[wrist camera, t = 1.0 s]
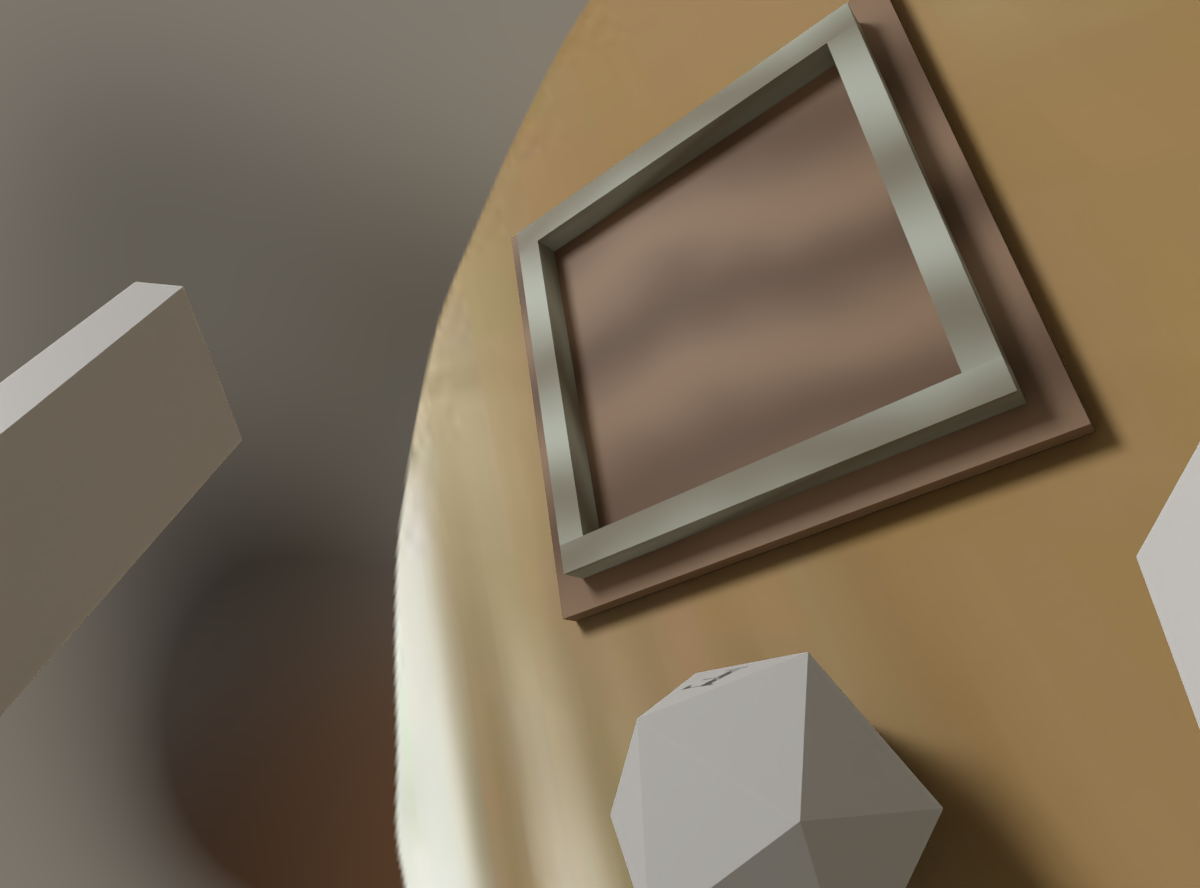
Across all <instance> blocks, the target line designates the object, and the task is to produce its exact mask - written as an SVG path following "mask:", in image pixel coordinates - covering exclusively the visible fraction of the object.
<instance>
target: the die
mask: <svg viewBox="0 0 1200 888" xmlns="http://www.w3.org/2000/svg"><path fill="white" fill-rule="evenodd" d="M942 810H943V807H942V806H941V805H940V804H939V803H938V801H937V800H936V799H935V798H934V797H933V796H932V795H931V793H930V792H929V791H928V790H927V789H926V788H925V786H924V785H923V784H922V783H921V782H920V781H919V779H918V778H917V777H916V776H915V775H914V774H913V773H912V771H911V770H910V769H909V768H908V767H907V766H906V764H905V763H904V762H903V761H902V760H901V759H900V758H899V756H898V755H897V754H896V753H895V752H894V751H893V749H892V748H891V747H890V746H889V745H888V744H887V743H886V741H885V740H884V739H883V738H882V737H881V736H880V734H879V733H878V732H877V731H876V730H875V729H874V727H873V726H872V725H871V724H870V723H869V722H868V721H867V719H866V718H865V717H864V716H863V715H862V714H861V712H860V711H859V710H858V709H857V708H856V707H855V706H854V704H853V703H852V702H851V701H850V700H849V699H848V697H847V696H846V695H845V694H844V693H843V692H842V690H841V689H840V688H839V687H838V686H837V685H836V684H835V682H834V681H833V680H832V679H831V678H830V677H829V675H828V674H827V673H826V672H825V671H824V670H823V669H822V667H821V666H820V665H819V664H818V663H817V662H816V660H815V659H814V658H813V657H812V656H811V655H810V654H809V652H804V653H799V654H793V655H788V656H783V657H778V658H772V659H767V660H762V661H757V662H752V663H746V664H741V665H736V666H731V667H725V668H720V669H715V670H710V671H704V672H699V673H696V674H694V675H693V676H692V677H690V678H689V679H688V680H687V681H685V682H684V683H683V684H681V685H680V686H679V687H678V688H676V689H675V690H674V691H672V692H671V693H670V694H669V695H667V696H666V697H665V698H663V699H662V700H661V701H660V702H658V703H657V704H656V705H654V706H653V707H652V708H651V709H649V710H648V711H647V712H645V713H644V714H643V715H641V716H640V717H639V718H638V719H637V722H636V726H635V729H634V733H633V736H632V740H631V743H630V747H629V751H628V754H627V758H626V761H625V765H624V768H623V772H622V775H621V779H620V783H619V786H618V790H617V793H616V797H615V800H614V804H613V807H612V811H611V814H610V815H611V819H612V822H613V825H614V828H615V831H616V834H617V837H618V840H619V843H620V846H621V849H622V852H623V855H624V858H625V861H626V864H627V867H628V871H629V874H630V877H631V880H632V883H633V886H634V888H906V886H907V884H908V882H909V880H910V878H911V876H912V874H913V871H914V869H915V867H916V865H917V863H918V861H919V859H920V857H921V855H922V852H923V850H924V848H925V846H926V844H927V842H928V840H929V838H930V836H931V833H932V831H933V829H934V827H935V825H936V823H937V821H938V819H939V816H940V814H941V812H942Z"/></svg>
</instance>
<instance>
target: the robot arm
mask: <svg viewBox="0 0 1200 888" xmlns="http://www.w3.org/2000/svg"><path fill="white" fill-rule="evenodd" d="M241 440H242V438H241V435H240V433H239V430H238V428H237V425H236V422H235V420H234V417H233V414H232V412H231V409H230V407H229V404H228V401H227V399H226V396H225V394H224V391H223V389H222V386H221V383H220V381H219V378H218V376H217V373H216V370H215V368H214V365H213V362H212V360H211V357H210V355H209V352H208V349H207V347H206V344H205V342H204V339H203V337H202V334H201V331H200V329H199V326H198V324H197V321H196V318H195V316H194V313H193V311H192V308H191V305H190V303H189V300H188V298H187V295H186V293H185V290H184V287H183V286H174V285H163V284H152V283H142V282H135V283H133V284H132V285H131V286H129V287H128V288H127V289H125V290H124V291H123V292H121V293H120V294H118V295H117V296H116V297H114V298H113V299H112V300H110V301H109V302H108V303H107V304H105V305H104V306H102V307H101V308H100V309H98V310H97V311H96V312H95V313H93V314H92V315H90V316H89V317H88V318H87V319H85V320H84V321H82V322H81V323H80V324H78V325H77V326H76V327H74V328H73V329H72V330H70V331H69V332H68V333H66V334H65V335H64V336H62V337H61V338H60V339H58V340H57V341H56V342H54V343H53V344H52V345H50V346H49V347H48V348H46V349H45V350H44V351H42V352H41V353H40V354H38V355H37V356H36V357H34V358H33V359H32V360H30V361H29V362H28V363H26V364H25V365H23V366H22V367H21V368H19V369H18V370H17V371H15V372H14V373H13V374H11V375H10V376H9V377H7V378H6V379H5V380H3V381H2V382H1V383H0V716H1V715H2V714H3V713H4V711H5V710H6V709H7V708H8V707H9V706H10V704H11V703H12V702H13V701H14V700H15V699H16V697H18V695H19V694H20V693H21V692H22V691H23V690H24V689H25V687H26V686H27V685H28V684H29V683H30V682H31V680H32V679H33V678H34V677H35V676H36V675H37V674H38V672H39V671H40V670H41V669H42V668H43V667H44V666H45V664H46V663H47V662H48V661H49V660H50V659H51V658H52V656H53V655H54V654H55V653H56V652H57V651H58V650H59V648H60V647H61V646H62V645H63V644H64V643H65V642H66V641H67V639H68V638H69V637H70V636H71V635H72V634H73V632H74V631H75V630H76V629H77V628H78V627H79V626H80V625H81V623H82V622H83V621H84V620H85V619H86V618H87V617H88V615H89V614H90V613H91V612H92V611H93V609H95V607H96V606H97V605H98V604H99V603H100V602H101V600H102V599H103V598H104V597H105V596H106V595H107V594H108V592H109V591H110V590H111V589H112V588H113V587H114V586H115V585H116V583H117V582H118V581H119V580H120V579H121V578H122V576H123V575H124V574H125V573H126V572H127V571H128V570H129V568H130V567H131V566H132V565H133V564H134V563H135V561H137V559H138V558H139V557H140V556H141V555H142V554H143V553H144V551H145V550H146V549H147V548H148V547H149V546H150V544H151V543H152V542H153V541H154V540H155V539H156V538H157V536H158V535H159V534H160V533H161V532H162V531H163V530H164V528H165V527H166V526H167V525H168V524H169V523H170V522H171V520H172V519H173V518H174V517H175V516H176V515H177V514H178V512H179V511H180V510H181V509H182V508H183V507H184V506H185V504H186V503H187V502H188V501H189V500H190V499H191V498H192V496H193V495H194V494H195V493H196V492H197V491H198V489H199V488H200V487H201V486H202V485H203V484H204V483H205V482H206V480H207V479H208V478H209V477H210V476H211V474H213V472H214V471H215V470H216V469H217V468H218V467H219V465H220V464H221V463H222V462H223V461H224V460H225V459H226V457H227V456H228V455H229V454H230V453H231V452H232V451H233V450H234V448H235V447H236V446H237V445H238V444H239V443H240V441H241ZM1136 557H1137V560H1138V563H1139V565H1140V568H1141V571H1142V573H1143V576H1144V579H1145V582H1146V584H1147V587H1148V590H1149V592H1150V595H1151V598H1152V601H1153V603H1154V606H1155V609H1156V612H1157V614H1158V617H1159V620H1160V622H1161V625H1162V628H1163V631H1164V633H1165V636H1166V639H1167V641H1168V644H1169V647H1170V650H1171V652H1172V655H1173V658H1174V660H1175V663H1176V666H1177V669H1178V671H1179V674H1180V677H1181V680H1182V682H1183V685H1184V688H1185V690H1186V693H1187V696H1188V699H1189V701H1190V704H1191V707H1192V709H1193V712H1194V715H1195V718H1196V720H1197V723H1198V726H1199V729H1200V443H1199V445H1198V447H1197V448H1196V450H1195V452H1194V454H1193V456H1192V457H1191V459H1190V461H1189V463H1188V465H1187V466H1186V468H1185V470H1184V472H1183V474H1182V475H1181V477H1180V479H1179V481H1178V483H1177V484H1176V486H1175V488H1174V490H1173V491H1172V493H1171V495H1170V497H1169V499H1168V500H1167V502H1166V504H1165V506H1164V508H1163V509H1162V511H1161V513H1160V515H1159V517H1158V518H1157V520H1156V522H1155V524H1154V526H1153V527H1152V529H1151V531H1150V533H1149V535H1148V536H1147V538H1146V540H1145V542H1144V544H1143V545H1142V547H1141V549H1140V551H1139V553H1138V554H1137V556H1136Z"/></svg>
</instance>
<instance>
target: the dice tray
mask: <svg viewBox="0 0 1200 888" xmlns="http://www.w3.org/2000/svg"><path fill="white" fill-rule="evenodd" d="M512 246H513V253H514V261H515V268H516V275H517V283H518V290H519V298H520V305H521V313H522V320H523V327H524V335H525V342H526V350H527V357H528V364H529V372H530V379H531V387H532V394H533V401H534V409H535V416H536V424H537V431H538V438H539V446H540V453H541V461H542V468H543V475H544V483H545V490H546V498H547V505H548V512H549V520H550V527H551V535H552V542H553V550H554V557H555V564H556V572H557V579H558V587H559V594H560V601H561V609H562V616H563V619H566V620H571V621H577V620H580V619H583V618H586V617H588V616H591V615H594V614H597V613H599V612H602V611H605V610H607V609H610V608H613V607H616V606H618V605H621V604H624V603H627V602H629V601H632V600H635V599H638V598H640V597H643V596H646V595H649V594H651V593H654V592H657V591H660V590H662V589H665V588H668V587H671V586H673V585H676V584H679V583H682V582H684V581H687V580H690V579H692V578H695V577H698V576H701V575H703V574H706V573H709V572H712V571H714V570H717V569H720V568H723V567H725V566H728V565H731V564H734V563H736V562H739V561H742V560H745V559H747V558H750V557H753V556H756V555H758V554H761V553H764V552H766V551H769V550H772V549H775V548H777V547H780V546H783V545H786V544H788V543H791V542H794V541H797V540H799V539H802V538H805V537H808V536H810V535H813V534H816V533H819V532H821V531H824V530H827V529H830V528H832V527H835V526H838V525H841V524H843V523H846V522H849V521H851V520H854V519H857V518H860V517H862V516H865V515H868V514H871V513H873V512H876V511H879V510H882V509H884V508H887V507H890V506H893V505H895V504H898V503H901V502H904V501H906V500H909V499H912V498H915V497H917V496H920V495H923V494H925V493H928V492H931V491H934V490H936V489H939V488H942V487H945V486H947V485H950V484H953V483H956V482H958V481H961V480H964V479H967V478H969V477H972V476H975V475H978V474H980V473H983V472H986V471H989V470H991V469H994V468H997V467H1000V466H1002V465H1005V464H1008V463H1010V462H1013V461H1016V460H1019V459H1021V458H1024V457H1027V456H1030V455H1032V454H1035V453H1038V452H1041V451H1043V450H1046V449H1049V448H1052V447H1054V446H1057V445H1060V444H1063V443H1065V442H1068V441H1071V440H1074V439H1076V438H1079V437H1082V436H1084V435H1087V434H1090V433H1093V432H1095V429H1094V427H1093V425H1092V423H1091V421H1090V419H1089V417H1088V415H1087V412H1086V410H1085V408H1084V406H1083V404H1082V402H1081V400H1080V398H1079V396H1078V394H1077V391H1076V389H1075V387H1074V385H1073V383H1072V381H1071V379H1070V377H1069V375H1068V373H1067V370H1066V368H1065V366H1064V364H1063V362H1062V360H1061V358H1060V356H1059V354H1058V351H1057V349H1056V347H1055V345H1054V343H1053V341H1052V339H1051V337H1050V335H1049V333H1048V330H1047V328H1046V326H1045V324H1044V322H1043V320H1042V318H1041V316H1040V314H1039V312H1038V309H1037V307H1036V305H1035V303H1034V301H1033V299H1032V297H1031V295H1030V293H1029V290H1028V288H1027V286H1026V284H1025V282H1024V280H1023V278H1022V276H1021V274H1020V272H1019V269H1018V267H1017V265H1016V263H1015V261H1014V259H1013V257H1012V255H1011V253H1010V250H1009V248H1008V246H1007V244H1006V242H1005V240H1004V238H1003V236H1002V234H1001V232H1000V229H999V227H998V225H997V223H996V221H995V219H994V217H993V215H992V213H991V211H990V208H989V206H988V204H987V202H986V200H985V198H984V196H983V194H982V192H981V189H980V187H979V185H978V183H977V181H976V179H975V177H974V175H973V173H972V171H971V168H970V166H969V164H968V162H967V160H966V158H965V156H964V154H963V152H962V150H961V147H960V145H959V143H958V141H957V139H956V137H955V135H954V133H953V131H952V128H951V126H950V124H949V122H948V120H947V118H946V116H945V114H944V112H943V110H942V107H941V105H940V103H939V101H938V99H937V97H936V95H935V93H934V91H933V89H932V86H931V84H930V82H929V80H928V78H927V76H926V74H925V72H924V70H923V67H922V65H921V63H920V61H919V59H918V57H917V55H916V53H915V51H914V49H913V46H912V44H911V42H910V40H909V38H908V36H907V34H906V32H905V30H904V28H903V25H902V23H901V21H900V19H899V17H898V15H897V13H896V11H895V9H894V6H893V4H892V2H891V0H850V1H849V2H848V3H845V4H844V5H842V6H841V7H839V8H838V9H837V10H835V11H834V12H832V13H831V14H830V15H828V16H827V17H825V18H824V19H822V20H821V21H820V22H818V23H817V24H815V25H814V26H812V27H811V28H810V29H808V30H807V31H805V32H804V33H802V34H801V35H800V36H798V37H797V38H795V39H794V40H792V41H791V42H790V43H788V44H787V45H785V46H784V47H782V48H781V49H780V50H778V51H777V52H775V53H774V54H772V55H771V56H770V57H768V58H767V59H765V60H764V61H763V62H761V63H760V64H758V65H757V66H755V67H754V68H753V69H751V70H750V71H748V72H747V73H745V74H744V75H743V76H741V77H740V78H738V79H737V80H735V81H734V82H733V83H731V84H730V85H728V86H727V87H725V88H724V89H723V90H721V91H720V92H718V93H717V94H715V95H714V96H713V97H711V98H710V99H708V100H707V101H705V102H704V103H703V104H701V105H700V106H698V107H697V108H696V109H694V110H693V111H691V112H690V113H688V114H687V115H686V116H684V117H683V118H681V119H680V120H678V121H677V122H676V123H674V124H673V125H671V126H670V127H668V128H667V129H666V130H664V131H663V132H661V133H660V134H658V135H657V136H656V137H654V138H653V139H651V140H650V141H648V142H647V143H646V144H644V145H643V146H641V147H640V148H639V149H637V150H636V151H634V152H633V153H631V154H630V155H629V156H627V157H626V158H624V159H623V160H621V161H620V162H619V163H617V164H616V165H614V166H613V167H611V168H610V169H609V170H607V171H606V172H604V173H603V174H601V175H600V176H599V177H597V178H596V179H594V180H593V181H591V182H590V183H589V184H587V185H586V186H584V187H583V188H581V189H580V190H579V191H577V192H576V193H574V194H573V195H572V196H570V197H569V198H567V199H566V200H564V201H563V202H562V203H560V204H559V205H557V206H556V207H554V208H553V209H552V210H550V211H549V212H547V213H546V214H544V215H543V216H542V217H540V218H539V219H537V220H536V221H534V222H533V223H532V224H530V225H529V226H527V227H526V228H524V229H523V230H522V231H520V232H519V233H517V235H515V236H514V237H512Z"/></svg>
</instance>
